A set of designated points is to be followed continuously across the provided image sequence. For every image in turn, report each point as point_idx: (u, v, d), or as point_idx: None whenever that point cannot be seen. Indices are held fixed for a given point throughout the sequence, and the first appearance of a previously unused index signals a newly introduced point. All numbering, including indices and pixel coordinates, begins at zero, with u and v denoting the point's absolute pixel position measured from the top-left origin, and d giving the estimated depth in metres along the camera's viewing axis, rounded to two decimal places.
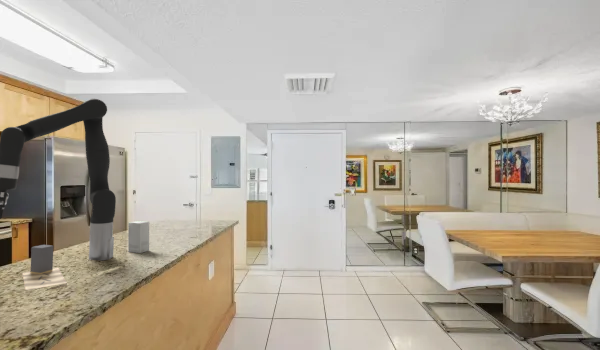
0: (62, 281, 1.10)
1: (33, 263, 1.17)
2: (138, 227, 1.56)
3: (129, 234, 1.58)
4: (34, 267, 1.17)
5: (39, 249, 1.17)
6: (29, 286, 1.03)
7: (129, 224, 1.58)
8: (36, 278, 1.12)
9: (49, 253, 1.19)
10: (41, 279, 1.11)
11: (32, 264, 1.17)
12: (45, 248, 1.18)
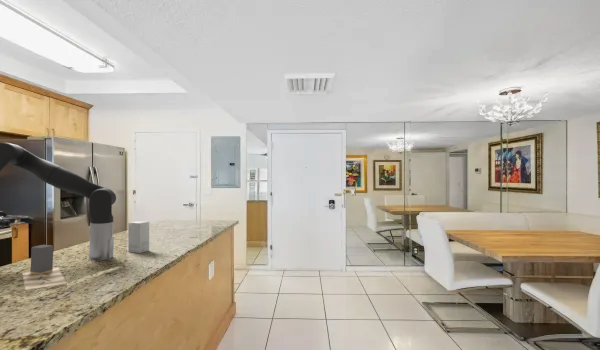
0: (62, 281, 1.10)
1: (33, 263, 1.17)
2: (138, 227, 1.56)
3: (129, 234, 1.58)
4: (34, 267, 1.17)
5: (39, 249, 1.17)
6: (29, 286, 1.03)
7: (129, 224, 1.58)
8: (36, 278, 1.12)
9: (49, 253, 1.19)
10: (41, 279, 1.11)
11: (32, 264, 1.17)
12: (45, 248, 1.18)
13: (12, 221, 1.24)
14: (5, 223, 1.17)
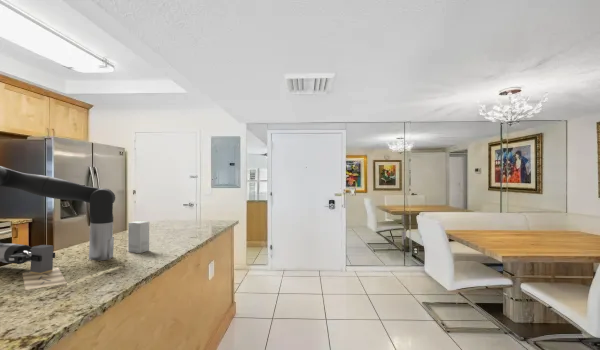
0: (62, 281, 1.10)
1: (33, 263, 1.17)
2: (138, 227, 1.56)
3: (129, 234, 1.58)
4: (34, 267, 1.17)
5: (39, 249, 1.17)
6: (29, 286, 1.03)
7: (129, 224, 1.58)
8: (36, 278, 1.12)
9: (49, 253, 1.19)
10: (41, 279, 1.11)
11: (32, 264, 1.17)
12: (45, 248, 1.18)
13: None
14: (37, 258, 1.16)
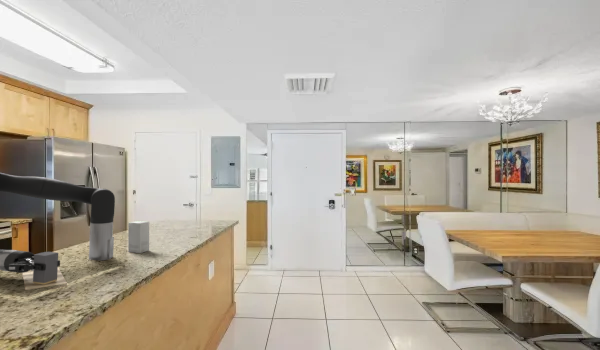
0: (62, 281, 1.10)
1: (35, 272, 1.06)
2: (138, 227, 1.56)
3: (129, 234, 1.58)
4: (37, 277, 1.06)
5: (43, 257, 1.06)
6: (29, 286, 1.03)
7: (129, 224, 1.58)
8: None
9: (53, 261, 1.08)
10: None
11: (35, 273, 1.06)
12: (49, 256, 1.07)
13: None
14: (40, 267, 1.04)
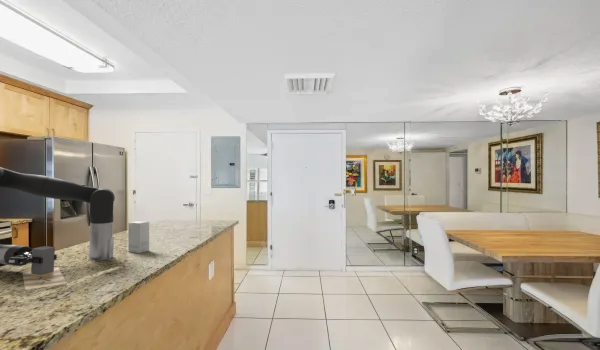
0: (62, 281, 1.10)
1: (33, 265, 1.14)
2: (138, 227, 1.56)
3: (129, 234, 1.58)
4: (35, 269, 1.14)
5: (40, 251, 1.13)
6: (29, 286, 1.03)
7: (129, 224, 1.58)
8: (36, 278, 1.12)
9: (50, 254, 1.16)
10: (41, 279, 1.11)
11: (33, 266, 1.14)
12: (46, 250, 1.15)
13: None
14: (38, 260, 1.12)
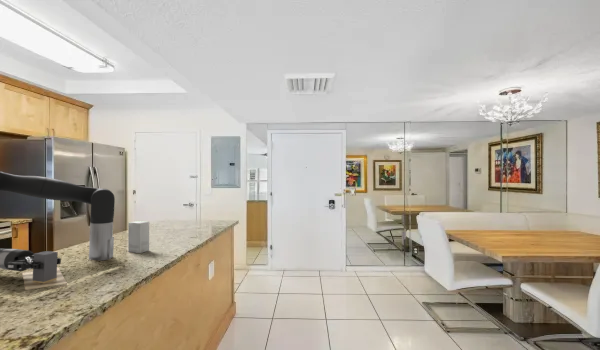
0: (62, 281, 1.10)
1: (35, 271, 1.08)
2: (138, 227, 1.56)
3: (129, 234, 1.58)
4: (37, 276, 1.08)
5: (42, 256, 1.07)
6: (29, 286, 1.03)
7: (129, 224, 1.58)
8: None
9: (52, 260, 1.10)
10: None
11: (34, 272, 1.08)
12: (48, 255, 1.08)
13: None
14: (37, 266, 1.05)
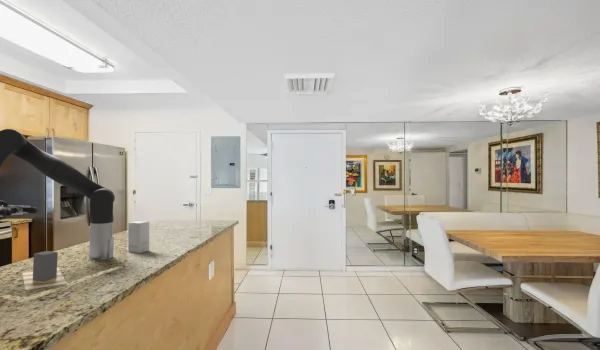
0: (62, 281, 1.10)
1: (35, 271, 1.08)
2: (138, 227, 1.56)
3: (129, 234, 1.58)
4: (37, 276, 1.08)
5: (42, 256, 1.07)
6: (29, 286, 1.03)
7: (129, 224, 1.58)
8: None
9: (52, 260, 1.10)
10: None
11: (34, 272, 1.08)
12: (48, 255, 1.08)
13: (14, 211, 1.15)
14: (6, 212, 1.08)
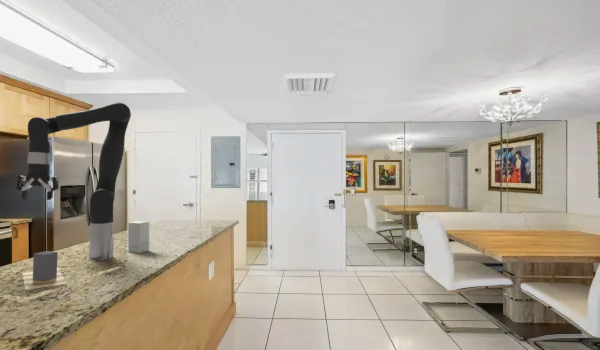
0: (62, 281, 1.10)
1: (35, 271, 1.08)
2: (138, 227, 1.56)
3: (129, 234, 1.58)
4: (37, 276, 1.08)
5: (42, 256, 1.07)
6: (29, 286, 1.03)
7: (129, 224, 1.58)
8: None
9: (52, 260, 1.10)
10: None
11: (34, 272, 1.08)
12: (48, 255, 1.08)
13: (41, 185, 1.34)
14: None
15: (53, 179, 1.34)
